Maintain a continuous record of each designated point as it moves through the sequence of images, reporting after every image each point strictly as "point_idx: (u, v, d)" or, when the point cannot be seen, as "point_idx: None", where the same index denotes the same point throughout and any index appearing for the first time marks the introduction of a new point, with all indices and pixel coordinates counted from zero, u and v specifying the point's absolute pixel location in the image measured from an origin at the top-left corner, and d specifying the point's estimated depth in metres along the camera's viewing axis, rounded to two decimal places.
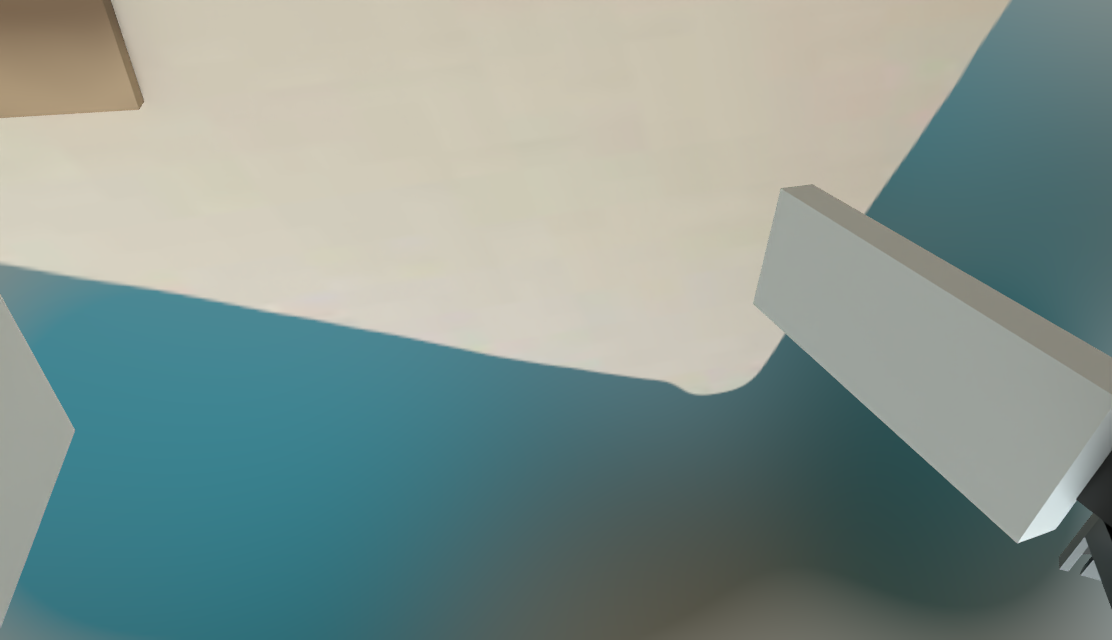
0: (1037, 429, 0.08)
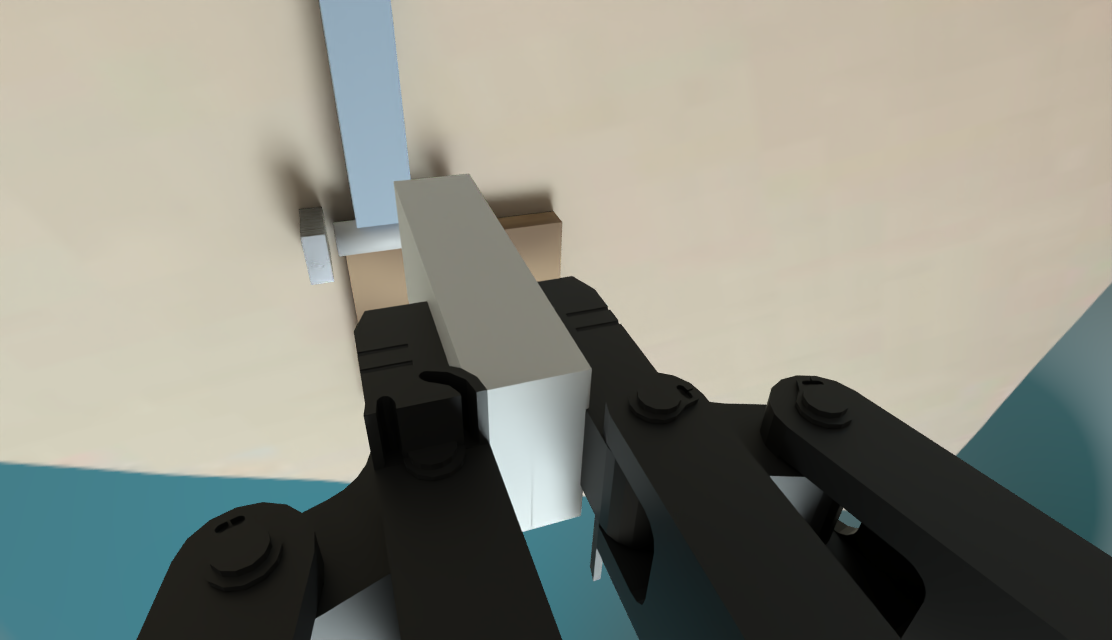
0: None
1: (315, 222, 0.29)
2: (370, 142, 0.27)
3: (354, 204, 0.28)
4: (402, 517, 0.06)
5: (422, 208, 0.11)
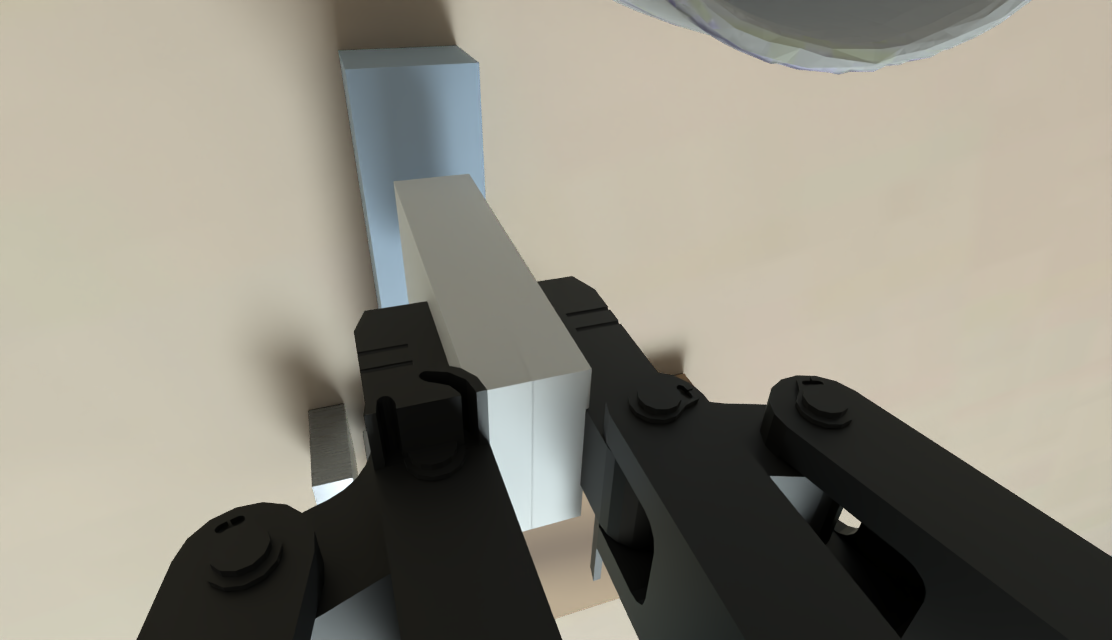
0: None
1: (335, 446, 0.17)
2: None
3: None
4: (402, 517, 0.06)
5: (422, 208, 0.11)
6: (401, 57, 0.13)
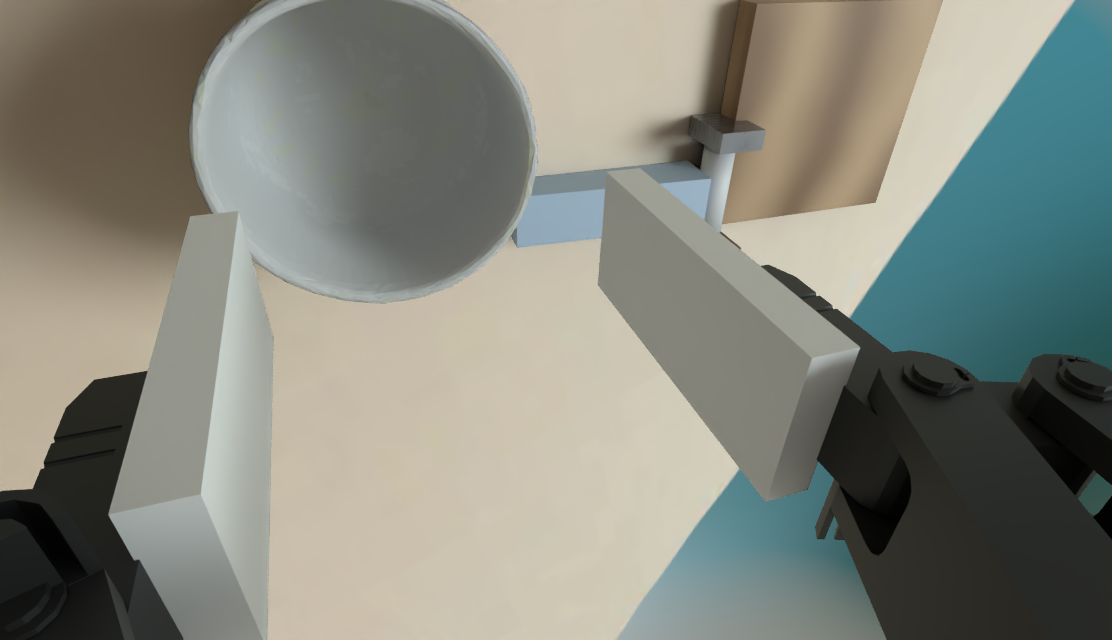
0: (769, 391, 0.09)
1: None
2: None
3: None
4: None
5: (204, 250, 0.10)
6: None
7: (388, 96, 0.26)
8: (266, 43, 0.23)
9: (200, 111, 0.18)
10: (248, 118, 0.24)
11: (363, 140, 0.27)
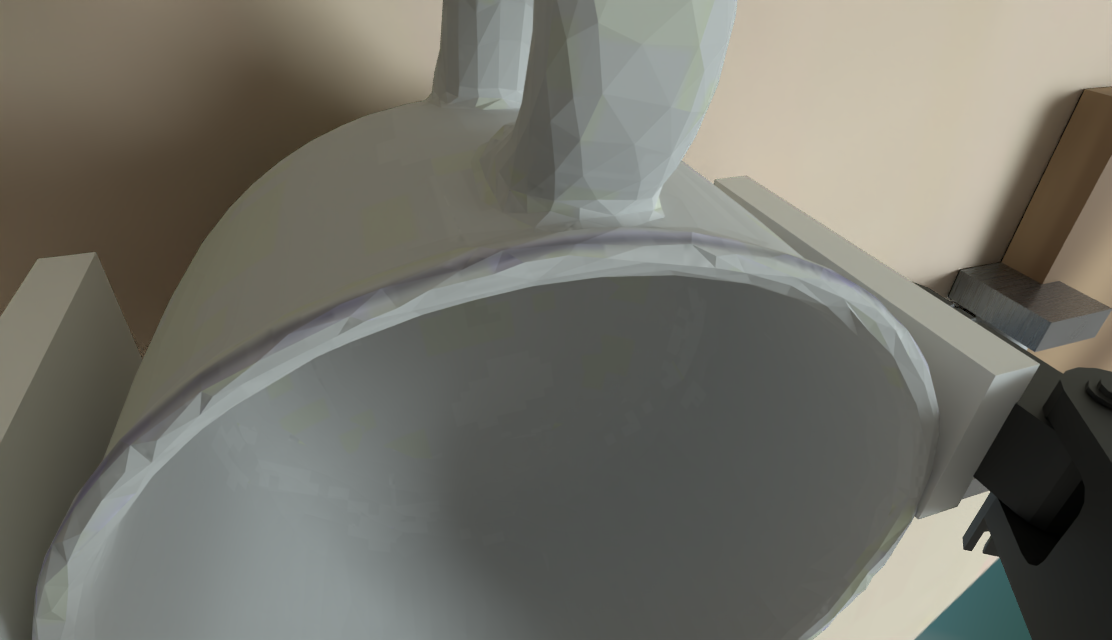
0: None
1: None
2: None
3: None
4: None
5: (36, 302, 0.08)
6: None
7: (508, 303, 0.13)
8: None
9: (64, 622, 0.06)
10: None
11: (455, 378, 0.14)
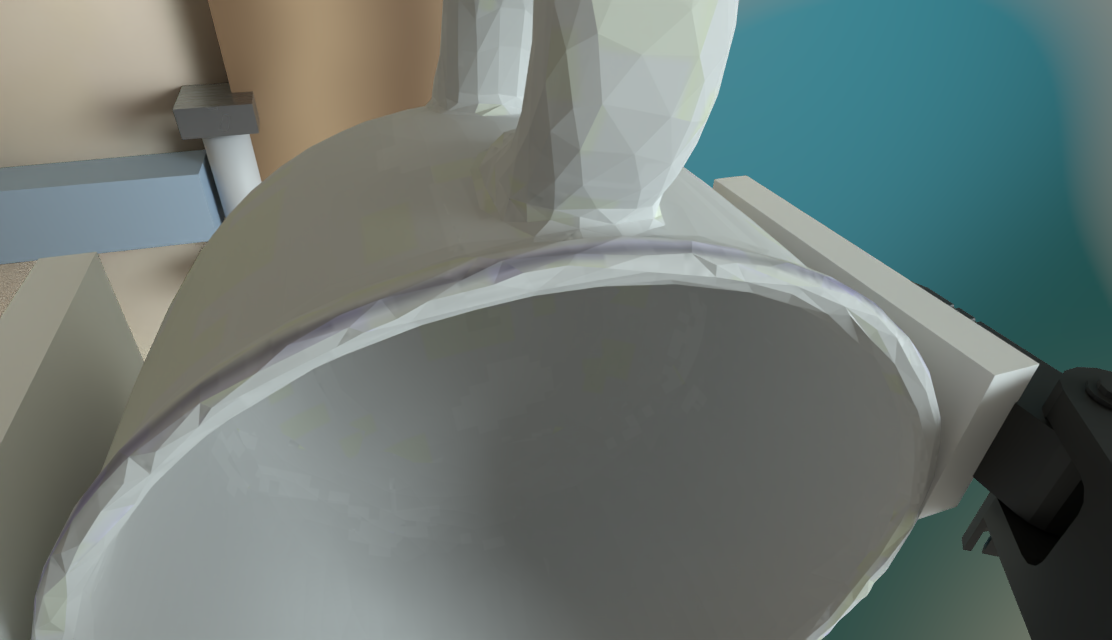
0: None
1: None
2: (92, 225, 0.22)
3: (185, 242, 0.24)
4: None
5: (36, 302, 0.08)
6: None
7: (509, 308, 0.13)
8: None
9: (63, 633, 0.06)
10: None
11: (456, 382, 0.14)
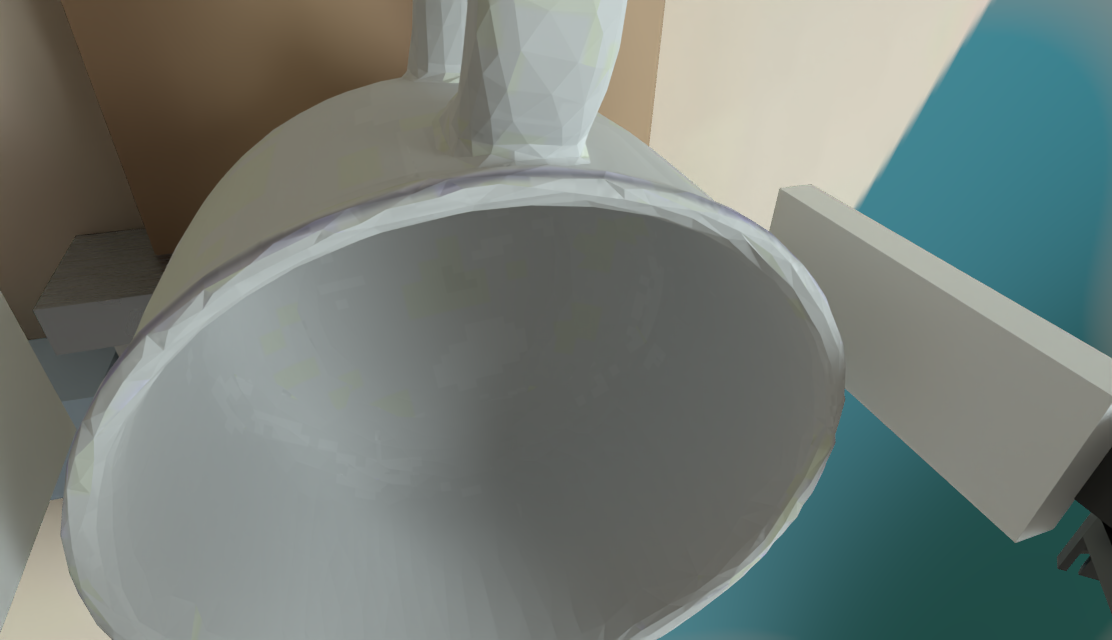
0: (1035, 428, 0.08)
1: None
2: None
3: None
4: None
5: None
6: None
7: (484, 271, 0.14)
8: None
9: (89, 496, 0.07)
10: (229, 339, 0.13)
11: (436, 341, 0.15)
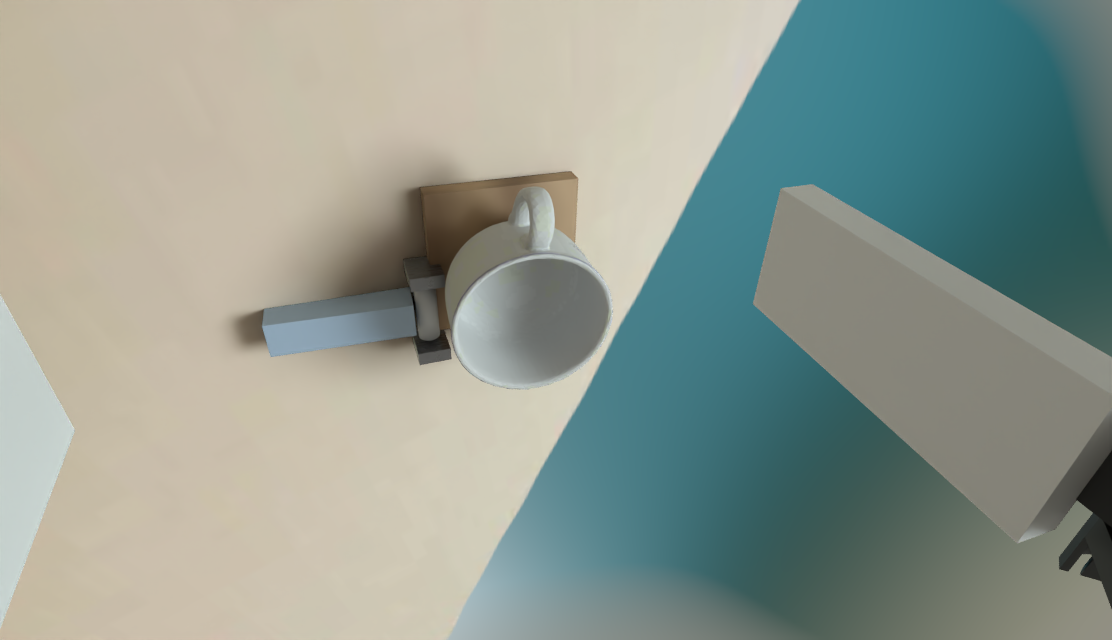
0: (1037, 429, 0.08)
1: (416, 347, 0.48)
2: (361, 330, 0.45)
3: (401, 337, 0.46)
4: None
5: None
6: None
7: (523, 269, 0.47)
8: None
9: (460, 310, 0.39)
10: None
11: (507, 292, 0.47)
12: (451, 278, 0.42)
